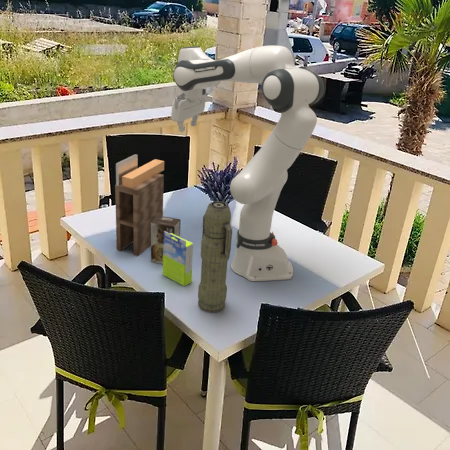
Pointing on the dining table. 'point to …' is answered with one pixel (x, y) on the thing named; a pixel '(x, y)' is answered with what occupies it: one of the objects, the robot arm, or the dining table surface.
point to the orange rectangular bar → (142, 173)
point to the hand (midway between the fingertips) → (187, 128)
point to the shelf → (138, 212)
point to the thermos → (215, 257)
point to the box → (177, 258)
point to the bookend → (125, 167)
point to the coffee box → (162, 235)
